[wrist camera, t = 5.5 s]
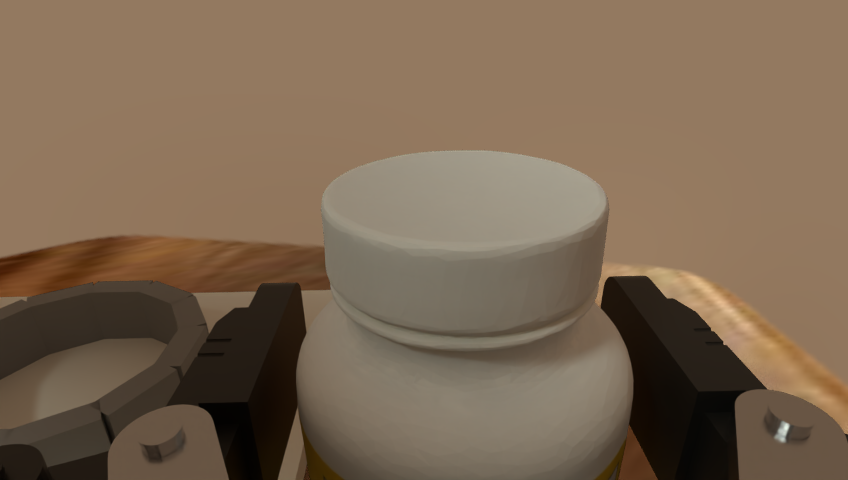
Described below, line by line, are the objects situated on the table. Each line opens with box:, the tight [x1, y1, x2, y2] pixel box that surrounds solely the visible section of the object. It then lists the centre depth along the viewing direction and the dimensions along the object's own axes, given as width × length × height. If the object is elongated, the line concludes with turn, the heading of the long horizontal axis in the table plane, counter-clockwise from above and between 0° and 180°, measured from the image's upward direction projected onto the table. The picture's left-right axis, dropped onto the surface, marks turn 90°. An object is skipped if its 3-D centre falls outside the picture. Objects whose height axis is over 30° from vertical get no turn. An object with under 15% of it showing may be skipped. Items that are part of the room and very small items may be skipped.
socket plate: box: [0, 281, 333, 480], centre depth 16 cm, size 15×13×3 cm
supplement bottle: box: [296, 150, 634, 480], centre depth 9 cm, size 5×5×10 cm
